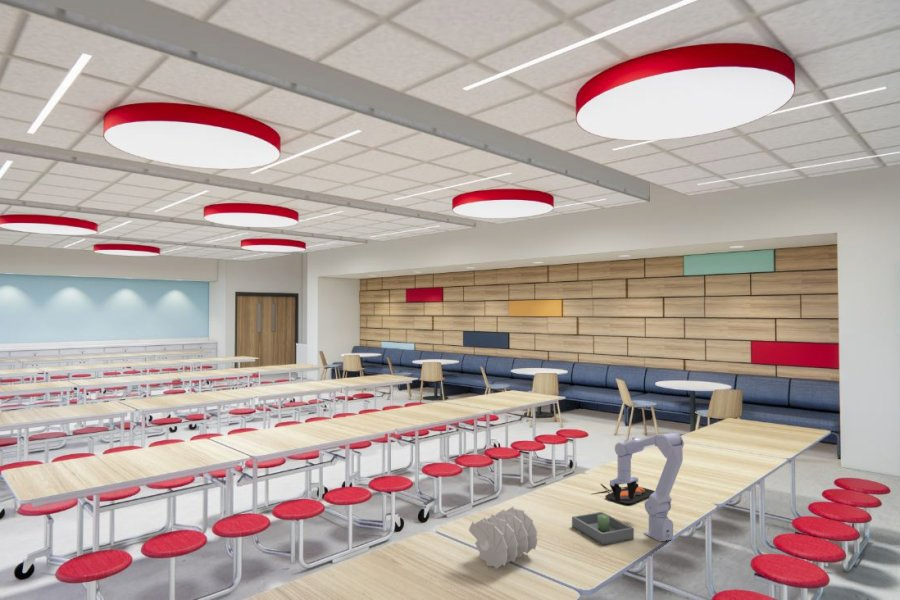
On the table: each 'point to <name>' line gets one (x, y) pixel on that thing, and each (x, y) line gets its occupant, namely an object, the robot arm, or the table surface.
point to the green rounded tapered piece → (603, 523)
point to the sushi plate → (624, 498)
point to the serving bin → (590, 528)
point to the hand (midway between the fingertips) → (624, 499)
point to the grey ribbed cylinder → (504, 536)
